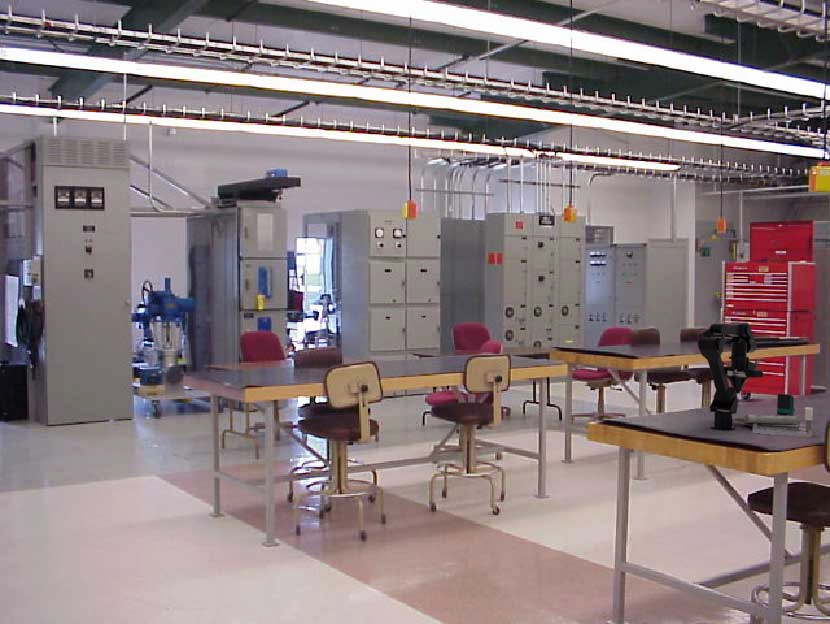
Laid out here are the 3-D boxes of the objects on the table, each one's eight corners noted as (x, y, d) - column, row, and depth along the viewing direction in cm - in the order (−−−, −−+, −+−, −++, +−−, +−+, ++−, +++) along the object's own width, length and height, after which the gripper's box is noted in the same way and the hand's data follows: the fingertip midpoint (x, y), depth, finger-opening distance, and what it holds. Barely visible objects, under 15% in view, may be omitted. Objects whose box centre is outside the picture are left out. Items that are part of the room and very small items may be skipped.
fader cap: (804, 430, 314) (805, 408, 314) (804, 428, 318) (805, 407, 318) (812, 431, 313) (812, 409, 313) (811, 429, 317) (812, 407, 317)
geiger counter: (802, 412, 322) (731, 411, 329) (802, 429, 321) (732, 427, 328) (796, 415, 335) (729, 413, 342) (797, 431, 334) (729, 429, 341)
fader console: (752, 433, 318) (752, 426, 318) (753, 428, 328) (753, 422, 328) (811, 437, 310) (811, 431, 310) (811, 433, 320) (811, 426, 320)
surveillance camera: (800, 392, 346) (791, 394, 339) (799, 422, 347) (790, 425, 339) (785, 391, 350) (776, 393, 343) (784, 420, 350) (776, 423, 343)
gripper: (772, 355, 332) (771, 395, 332) (732, 351, 348) (731, 389, 348) (754, 356, 326) (753, 396, 327) (714, 352, 342) (713, 391, 342)
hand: (737, 393), depth 336 cm, fingers closed
